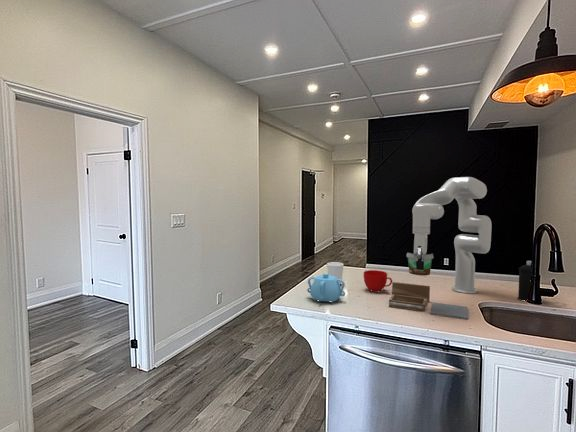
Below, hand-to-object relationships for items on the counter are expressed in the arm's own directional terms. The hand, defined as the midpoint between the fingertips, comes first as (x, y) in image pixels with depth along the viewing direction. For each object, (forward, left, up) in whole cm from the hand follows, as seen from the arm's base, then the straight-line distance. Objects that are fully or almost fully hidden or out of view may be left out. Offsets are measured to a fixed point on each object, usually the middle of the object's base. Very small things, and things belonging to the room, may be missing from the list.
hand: (420, 267), depth 154 cm
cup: (-20, -50, -19) cm, 57 cm away
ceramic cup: (-18, -24, -19) cm, 35 cm away
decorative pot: (+9, -45, -19) cm, 50 cm away
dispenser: (-2, -6, -19) cm, 20 cm away
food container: (0, 0, -4) cm, 4 cm away
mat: (0, +12, -19) cm, 23 cm away
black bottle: (-35, +47, -19) cm, 62 cm away
